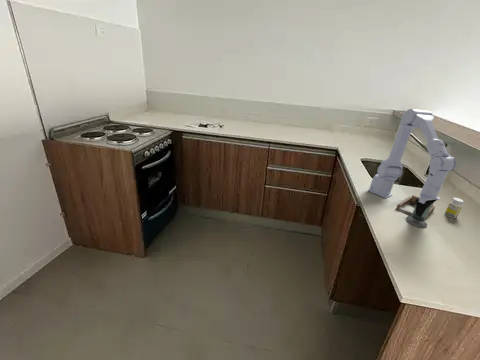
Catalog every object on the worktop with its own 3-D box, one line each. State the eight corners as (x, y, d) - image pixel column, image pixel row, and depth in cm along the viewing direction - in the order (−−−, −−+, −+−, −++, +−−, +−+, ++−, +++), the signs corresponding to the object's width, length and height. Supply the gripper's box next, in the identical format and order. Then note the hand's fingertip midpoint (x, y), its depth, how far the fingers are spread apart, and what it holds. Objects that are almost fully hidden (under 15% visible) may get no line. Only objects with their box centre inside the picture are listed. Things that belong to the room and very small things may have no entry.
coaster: (402, 220, 118) (403, 219, 118) (409, 215, 123) (410, 214, 123) (423, 230, 113) (423, 228, 113) (429, 224, 118) (429, 222, 118)
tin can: (409, 216, 118) (416, 200, 114) (414, 213, 121) (421, 197, 117) (421, 222, 114) (429, 206, 111) (426, 219, 117) (434, 203, 114)
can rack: (395, 208, 128) (398, 201, 126) (407, 200, 137) (410, 193, 135) (422, 220, 120) (426, 212, 118) (433, 211, 130) (436, 203, 128)
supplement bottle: (451, 213, 130) (459, 197, 127) (459, 218, 126) (467, 202, 122) (442, 212, 130) (449, 196, 126) (449, 217, 125) (457, 201, 122)
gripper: (439, 192, 103) (425, 223, 109) (449, 184, 113) (435, 213, 118) (418, 185, 108) (406, 214, 114) (430, 178, 117) (418, 205, 123)
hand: (420, 213), depth 116 cm, fingers closed on tin can, 5 cm apart
